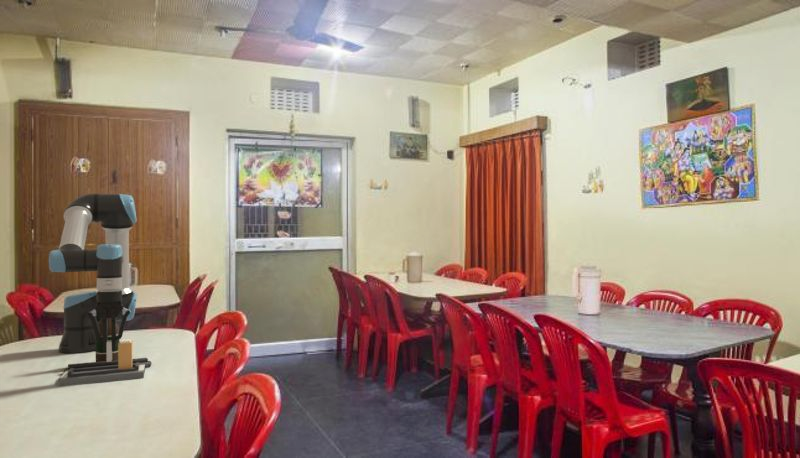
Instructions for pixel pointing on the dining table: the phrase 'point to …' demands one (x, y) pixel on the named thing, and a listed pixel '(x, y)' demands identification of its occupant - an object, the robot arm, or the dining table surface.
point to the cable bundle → (106, 364)
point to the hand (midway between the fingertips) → (109, 360)
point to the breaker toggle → (125, 354)
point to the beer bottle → (100, 353)
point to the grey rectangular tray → (101, 374)
